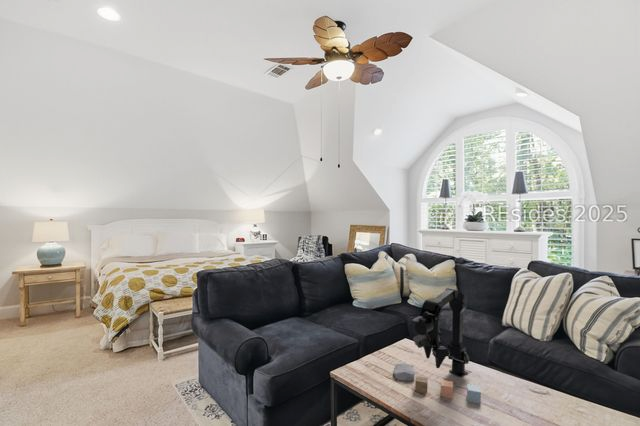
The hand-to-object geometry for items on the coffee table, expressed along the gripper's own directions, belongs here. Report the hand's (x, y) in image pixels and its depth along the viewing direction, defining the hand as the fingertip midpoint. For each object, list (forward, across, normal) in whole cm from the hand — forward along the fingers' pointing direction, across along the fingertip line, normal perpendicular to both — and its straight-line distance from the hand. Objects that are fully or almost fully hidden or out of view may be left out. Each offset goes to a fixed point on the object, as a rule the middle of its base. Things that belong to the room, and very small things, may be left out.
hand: (432, 363), depth 148 cm
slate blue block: (+13, +8, +15) cm, 21 cm away
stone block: (+14, -17, -7) cm, 23 cm away
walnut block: (+13, -2, -4) cm, 14 cm away
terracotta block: (+13, +3, +5) cm, 14 cm away
